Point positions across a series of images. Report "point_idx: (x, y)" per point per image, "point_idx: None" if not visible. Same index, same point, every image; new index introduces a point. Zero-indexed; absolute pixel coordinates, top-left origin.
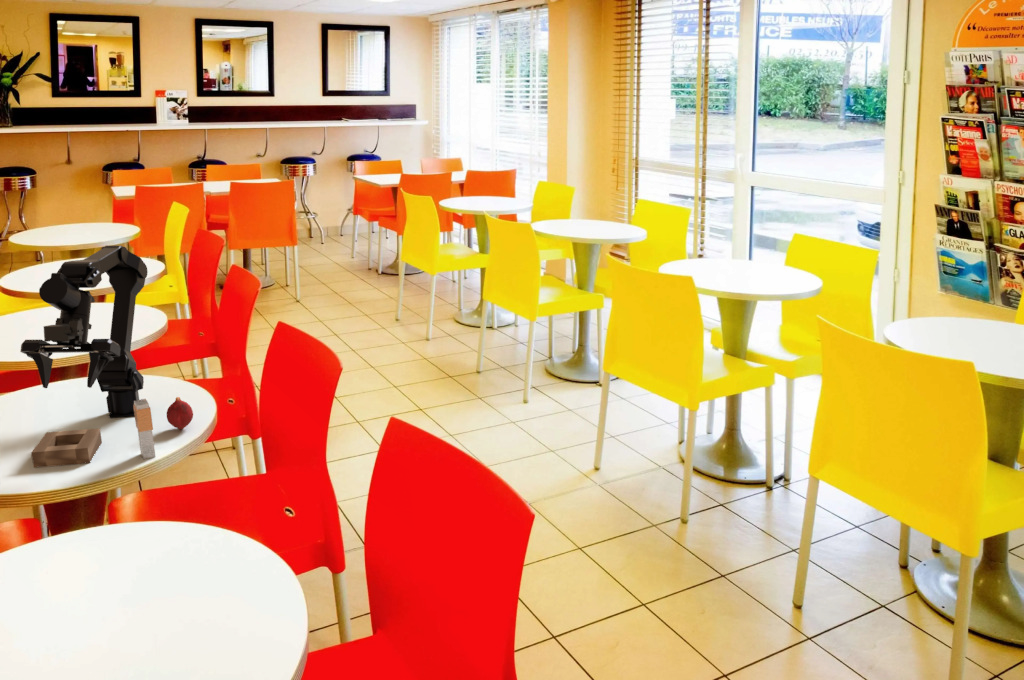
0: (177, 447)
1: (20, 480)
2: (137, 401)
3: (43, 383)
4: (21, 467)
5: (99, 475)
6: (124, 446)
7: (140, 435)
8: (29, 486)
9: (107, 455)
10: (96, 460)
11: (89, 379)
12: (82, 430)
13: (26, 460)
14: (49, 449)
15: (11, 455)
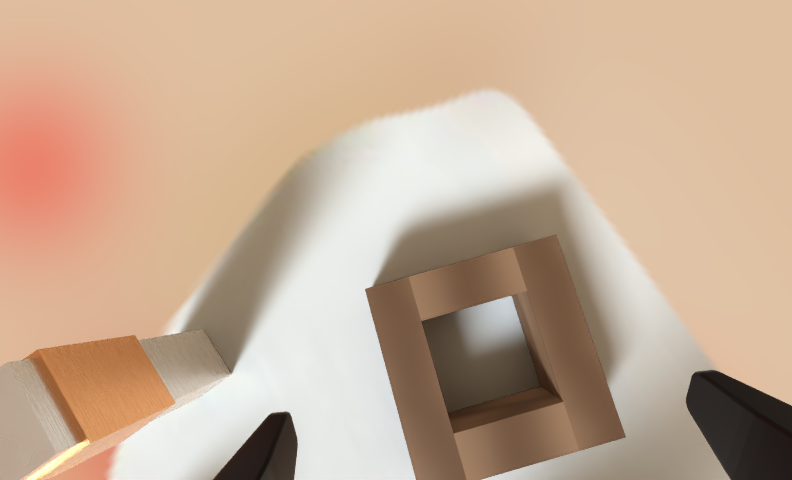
0: None
1: (518, 153)
2: (28, 442)
3: (740, 390)
4: (577, 242)
5: (293, 203)
6: (318, 437)
7: (146, 340)
8: (465, 119)
9: (342, 354)
10: (359, 311)
11: (243, 465)
12: (483, 467)
13: (597, 296)
14: (503, 265)
15: (679, 333)
